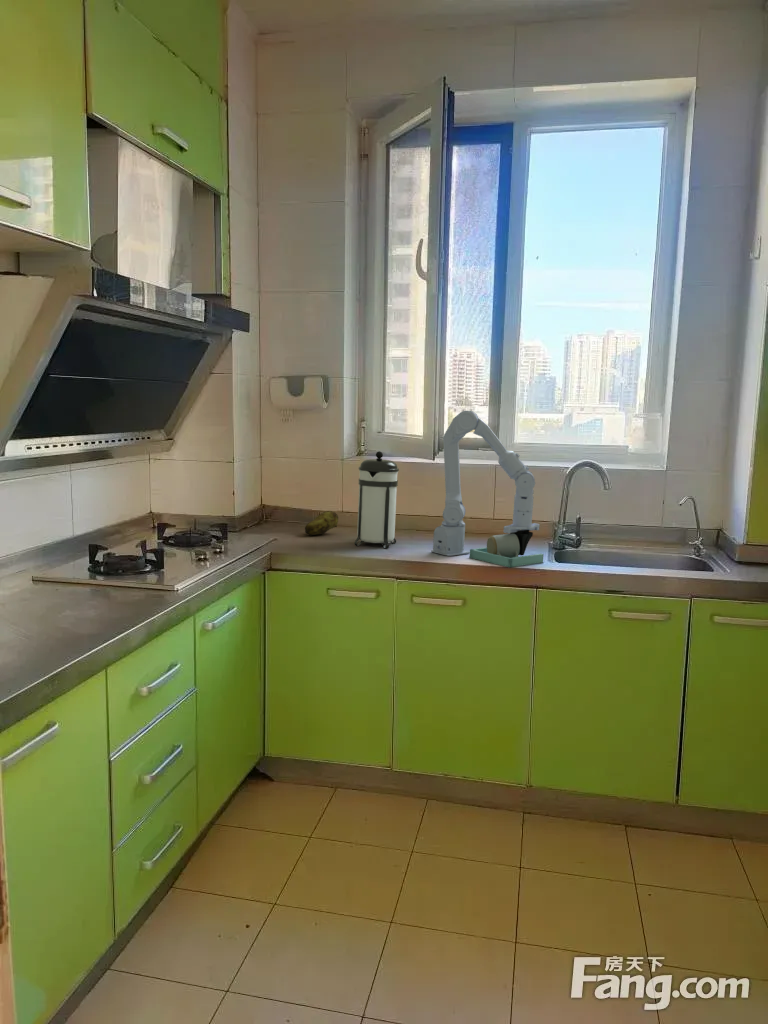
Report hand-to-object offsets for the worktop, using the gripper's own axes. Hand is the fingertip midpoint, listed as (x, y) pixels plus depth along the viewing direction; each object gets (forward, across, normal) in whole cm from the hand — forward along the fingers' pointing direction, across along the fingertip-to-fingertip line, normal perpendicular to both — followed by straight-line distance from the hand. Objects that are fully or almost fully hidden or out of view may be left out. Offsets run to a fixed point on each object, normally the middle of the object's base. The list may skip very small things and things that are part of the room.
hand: (520, 554), depth 236 cm
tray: (+1, -6, 0) cm, 6 cm away
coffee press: (+1, -25, +39) cm, 47 cm away
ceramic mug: (+1, -7, 0) cm, 7 cm away
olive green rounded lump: (+1, -31, +61) cm, 69 cm away
